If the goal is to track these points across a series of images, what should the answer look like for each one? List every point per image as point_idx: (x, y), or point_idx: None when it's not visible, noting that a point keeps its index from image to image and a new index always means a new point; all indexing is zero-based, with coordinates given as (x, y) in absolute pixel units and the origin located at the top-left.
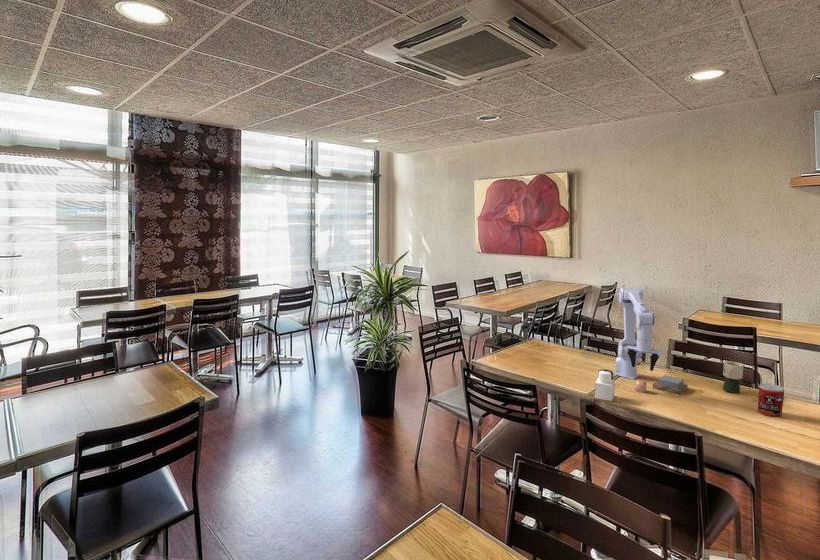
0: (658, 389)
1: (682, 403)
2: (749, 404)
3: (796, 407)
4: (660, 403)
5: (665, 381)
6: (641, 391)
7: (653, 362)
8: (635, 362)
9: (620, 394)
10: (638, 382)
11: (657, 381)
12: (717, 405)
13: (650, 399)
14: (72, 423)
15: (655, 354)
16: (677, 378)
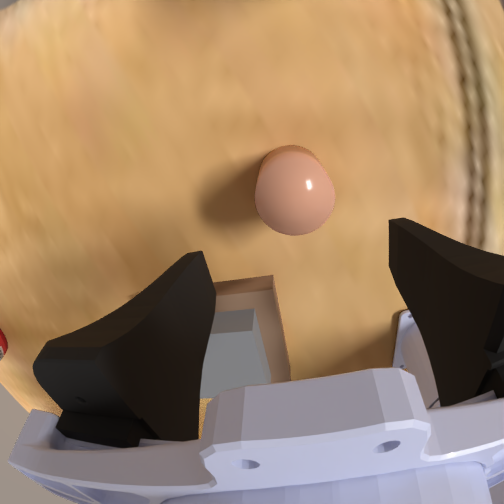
0: (241, 280)
1: (70, 198)
2: (35, 359)
3: (21, 394)
4: (109, 94)
5: (211, 331)
6: (270, 153)
7: (119, 308)
8: (403, 297)
9: (330, 13)
10: (295, 159)
11: (282, 343)
12: (33, 291)
13: (171, 94)
14: None
15: (82, 433)
16: (205, 394)
